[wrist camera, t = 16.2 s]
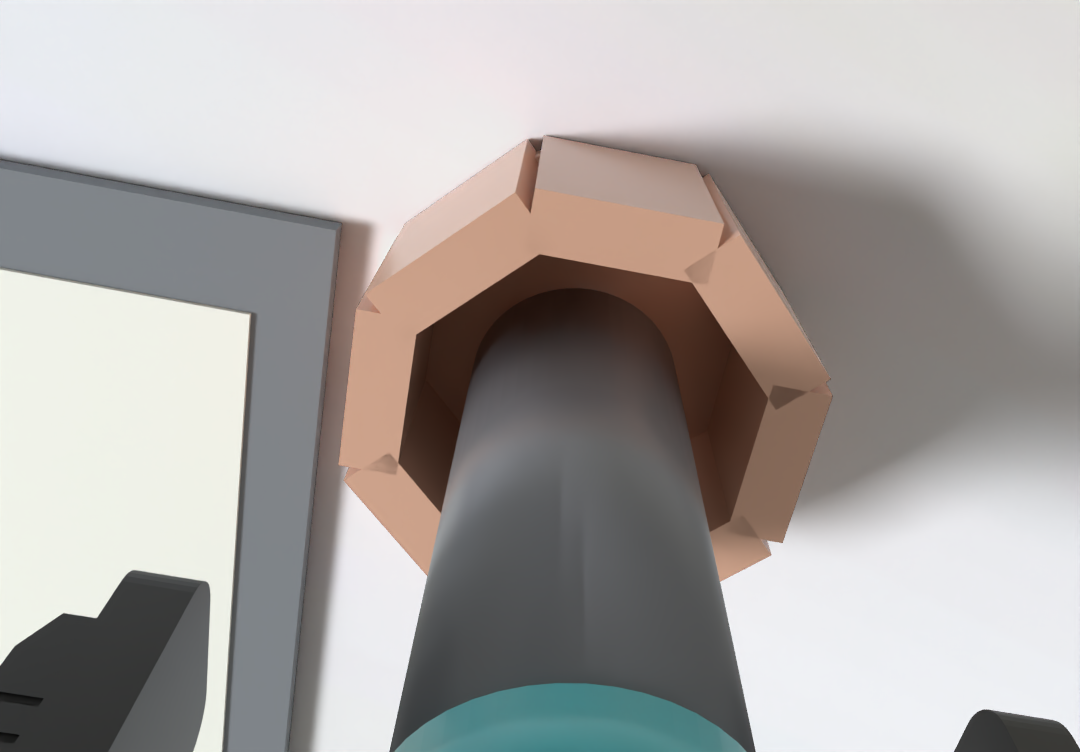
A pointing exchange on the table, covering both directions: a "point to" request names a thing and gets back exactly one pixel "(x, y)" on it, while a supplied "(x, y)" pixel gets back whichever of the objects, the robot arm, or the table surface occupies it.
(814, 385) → the pen cup
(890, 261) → the table surface
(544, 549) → the marker
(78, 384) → the grey tablet
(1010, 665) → the table surface
